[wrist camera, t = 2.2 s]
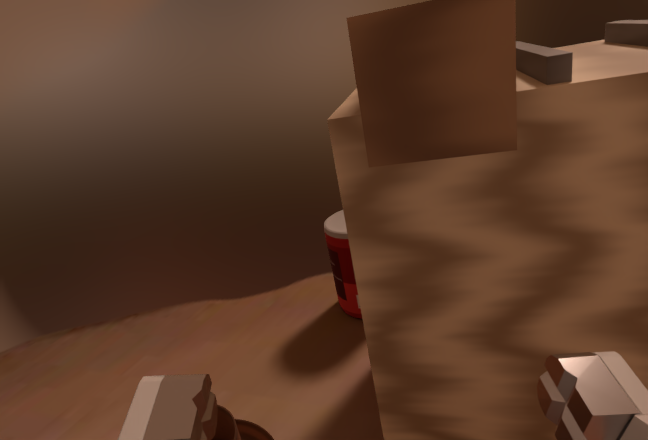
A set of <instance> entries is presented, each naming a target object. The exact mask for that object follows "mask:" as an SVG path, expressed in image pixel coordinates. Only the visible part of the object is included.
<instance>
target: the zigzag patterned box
mask: <svg viewBox="0 0 648 440" xmlns="http://www.w3.org/2000/svg"><path fill="white" fill-rule="evenodd" d="M516 101H517V150H514V151H506V152H497V153H489V154H480V155H472V156H463V157H455V158H446V159H438V160H429V161H421V162H412V163H403V164H395V165H386V166H378V167H369V166H368V159H367V153H366V146H365V139H364V132H363V125H362V119H361V112H360V105H359V98H358V91H357V88H356V89H355V91H354V92H353V93H352V94H351V95H350V96H349V97H348V98H347V99H346V100H345V101H344V102H343V103H342V105H341V106H340V107H339V108H338V109H337V110H336V111H335V112H334V113H333V114H332V115H331V116H330V117H329V119H328V120H327V121H328V127H329V132H330V138H331V144H332V149H333V155H334V161H335V166H336V171H337V178H338V183H339V189H340V194H341V200H342V206H343V212H344V217H345V223H346V229H347V234H348V240H349V246H350V251H351V257H352V262H353V268H354V274H355V279H356V285H357V291H358V296H359V302H360V308H361V313H362V319H363V325H364V330H365V336H366V342H367V347H368V353H369V359H370V364H371V370H372V376H373V381H374V387H375V392H376V398H377V404H378V409H379V415H380V421H381V426H382V432H383V438H384V440H557V439H556V437H555V435H554V434H555V429H556V424H554V423H553V422H552V421H550V420H549V419H548V418H547V417H545V415H544V413H543V411H542V409H541V407H540V403H539V400H538V396H537V384H538V380H539V377H540V376H541V375H543V374H544V373H545V372H547V369H546V367H545V366H544V364H545V361H546V359H547V357H549V356H550V355H555V354H569V353H583V352H591V353H593V352H608V351H615V352H617V353H618V354H619V355H621V356H622V358H623V359H624V360H625V362H626V363H627V364H628V366H629V367H630V368H631V369H632V371H633V372H634V373H635V375H636V376H637V377H638V379H639V380H640V381H641V382H642V384H643V385H644V386H645V388H646V389H647V390H648V20H622V21H615V22H610V23H606V26H605V40H601V41H594V42H589V43H582V44H576V45H570V46H564V47H558V48H548V47H543V46H539V45H533V44H528V43H524V42H519V41H516Z"/></svg>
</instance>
